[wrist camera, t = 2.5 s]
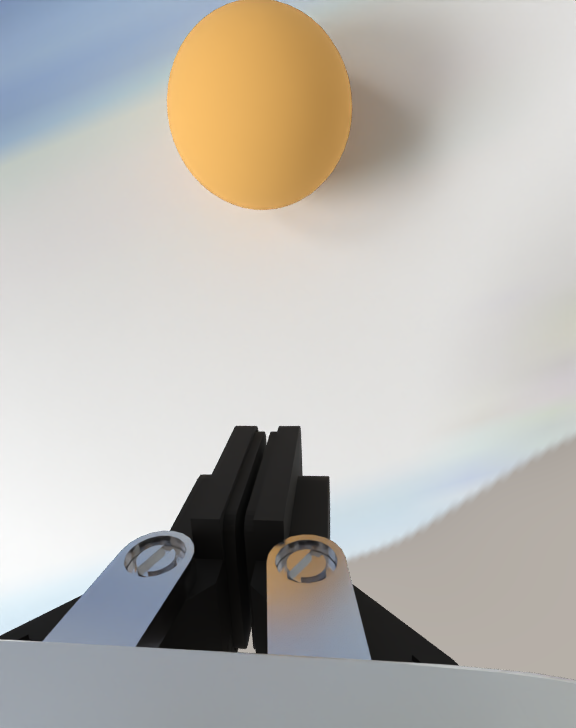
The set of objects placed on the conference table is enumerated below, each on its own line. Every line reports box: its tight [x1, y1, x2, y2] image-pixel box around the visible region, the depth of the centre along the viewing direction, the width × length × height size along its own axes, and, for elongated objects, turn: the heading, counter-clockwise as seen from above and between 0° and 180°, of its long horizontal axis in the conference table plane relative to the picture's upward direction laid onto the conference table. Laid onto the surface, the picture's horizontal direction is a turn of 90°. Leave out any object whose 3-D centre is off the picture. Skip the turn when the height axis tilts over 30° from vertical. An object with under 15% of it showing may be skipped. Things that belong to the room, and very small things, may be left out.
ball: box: [167, 0, 352, 210], centre depth 15 cm, size 6×6×6 cm
